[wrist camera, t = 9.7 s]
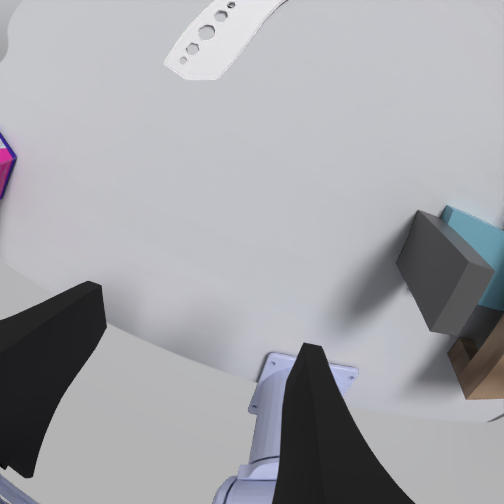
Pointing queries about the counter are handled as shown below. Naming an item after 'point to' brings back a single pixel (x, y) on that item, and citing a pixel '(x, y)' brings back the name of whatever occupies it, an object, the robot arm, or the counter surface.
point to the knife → (219, 38)
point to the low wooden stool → (480, 365)
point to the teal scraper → (453, 267)
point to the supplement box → (5, 163)
